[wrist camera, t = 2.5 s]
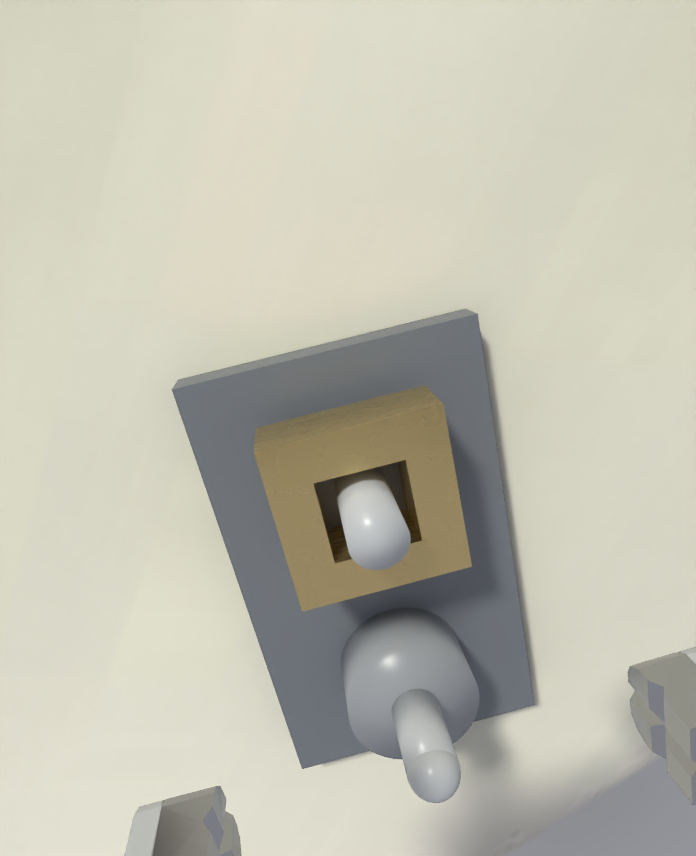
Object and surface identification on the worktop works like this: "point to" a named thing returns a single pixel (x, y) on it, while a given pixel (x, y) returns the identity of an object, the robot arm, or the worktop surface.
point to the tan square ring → (353, 452)
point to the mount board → (260, 542)
